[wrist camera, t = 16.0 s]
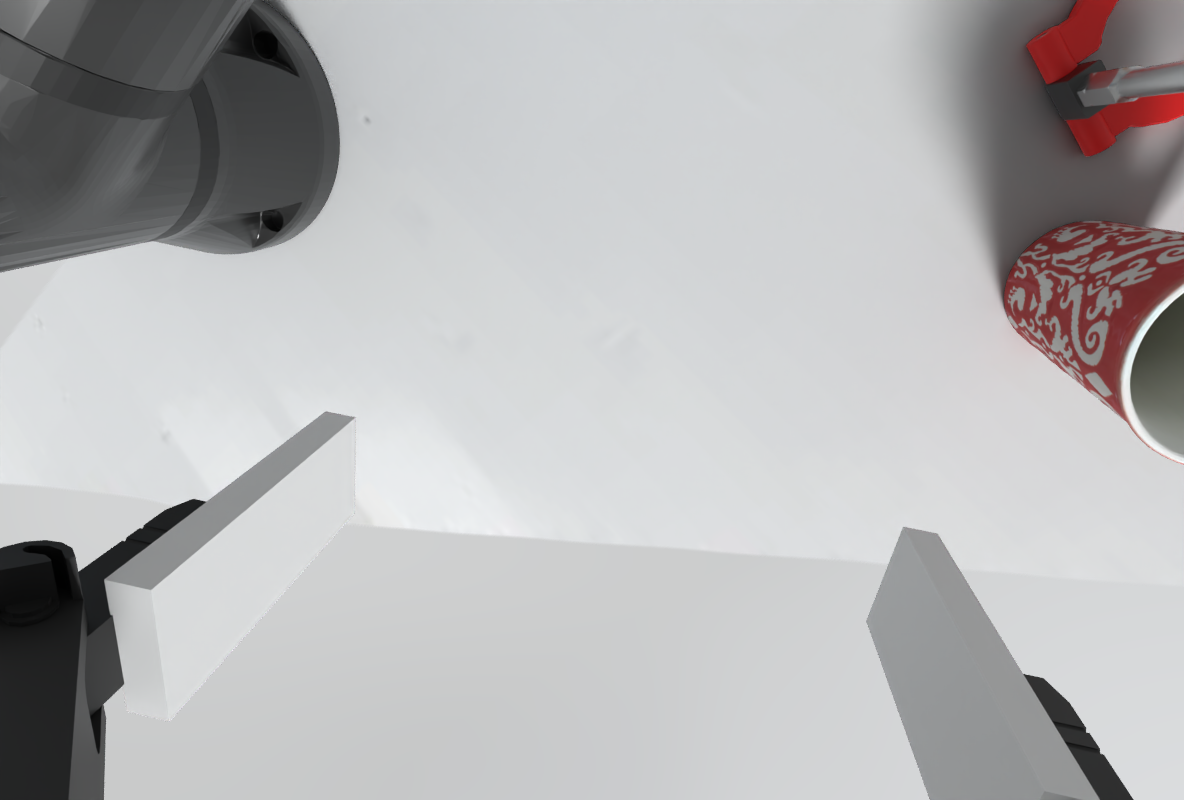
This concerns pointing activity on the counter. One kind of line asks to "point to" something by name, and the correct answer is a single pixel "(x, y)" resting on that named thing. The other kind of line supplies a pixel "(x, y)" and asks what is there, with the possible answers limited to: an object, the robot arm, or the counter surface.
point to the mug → (1110, 319)
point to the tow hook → (1102, 81)
